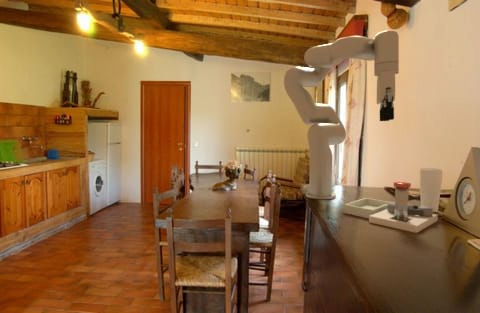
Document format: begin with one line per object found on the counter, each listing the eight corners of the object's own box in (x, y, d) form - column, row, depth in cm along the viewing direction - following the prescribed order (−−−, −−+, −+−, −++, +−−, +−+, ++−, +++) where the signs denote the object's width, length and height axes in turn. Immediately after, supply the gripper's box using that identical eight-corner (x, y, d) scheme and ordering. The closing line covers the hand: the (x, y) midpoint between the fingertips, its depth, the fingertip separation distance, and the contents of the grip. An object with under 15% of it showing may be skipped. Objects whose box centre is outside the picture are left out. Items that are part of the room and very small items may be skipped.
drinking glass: (443, 213, 109) (446, 170, 108) (422, 213, 110) (424, 170, 109) (435, 208, 116) (437, 167, 114) (415, 208, 117) (417, 167, 115)
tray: (343, 212, 111) (343, 204, 111) (365, 205, 122) (365, 197, 121) (372, 219, 104) (372, 210, 103) (393, 210, 114) (393, 202, 113)
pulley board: (369, 222, 101) (369, 206, 100) (392, 212, 112) (393, 197, 111) (416, 232, 90) (417, 214, 90) (437, 220, 101) (438, 204, 101)
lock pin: (389, 225, 97) (391, 183, 96) (396, 222, 100) (397, 181, 99) (405, 228, 94) (407, 185, 93) (411, 225, 97) (413, 183, 96)
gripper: (372, 75, 117) (372, 121, 118) (377, 65, 101) (377, 119, 102) (394, 73, 115) (394, 120, 116) (403, 63, 99) (403, 118, 100)
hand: (386, 120), depth 109 cm, fingers open, 9 cm apart
